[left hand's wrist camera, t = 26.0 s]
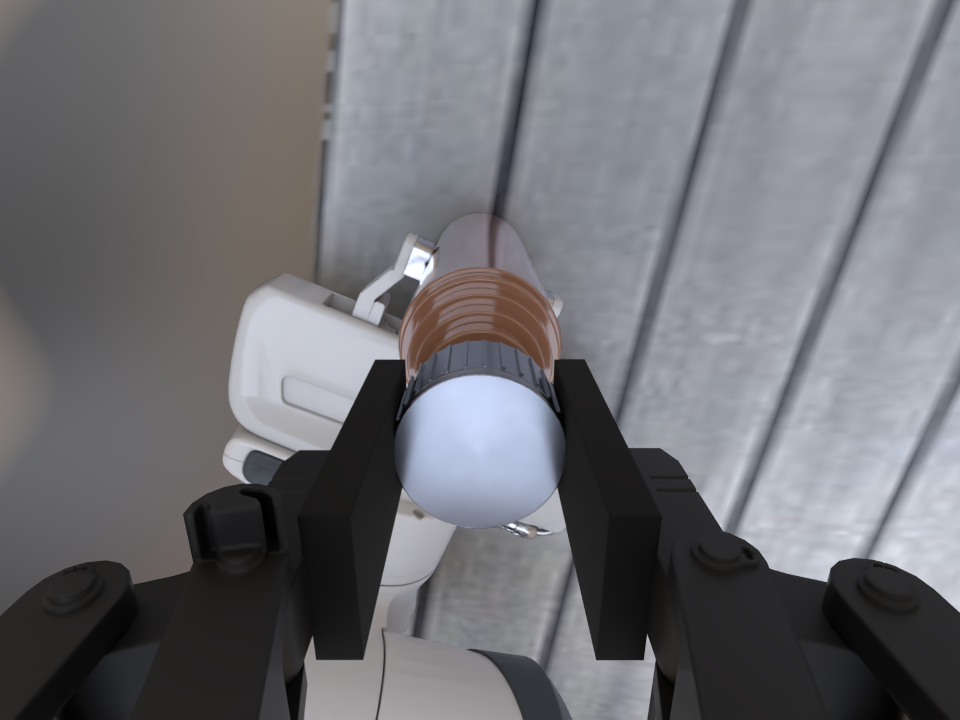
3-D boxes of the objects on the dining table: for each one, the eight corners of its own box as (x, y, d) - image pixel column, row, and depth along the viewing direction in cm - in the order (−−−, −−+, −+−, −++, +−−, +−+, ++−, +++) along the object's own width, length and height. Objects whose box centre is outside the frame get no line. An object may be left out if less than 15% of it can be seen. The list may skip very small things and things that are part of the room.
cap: (588, 418, 15) (606, 464, 13) (471, 504, 16) (471, 560, 13) (488, 305, 14) (490, 333, 12) (370, 403, 15) (351, 447, 12)
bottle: (537, 283, 35) (627, 493, 14) (455, 315, 36) (419, 561, 15) (505, 198, 34) (552, 285, 12) (420, 233, 34) (319, 375, 13)
